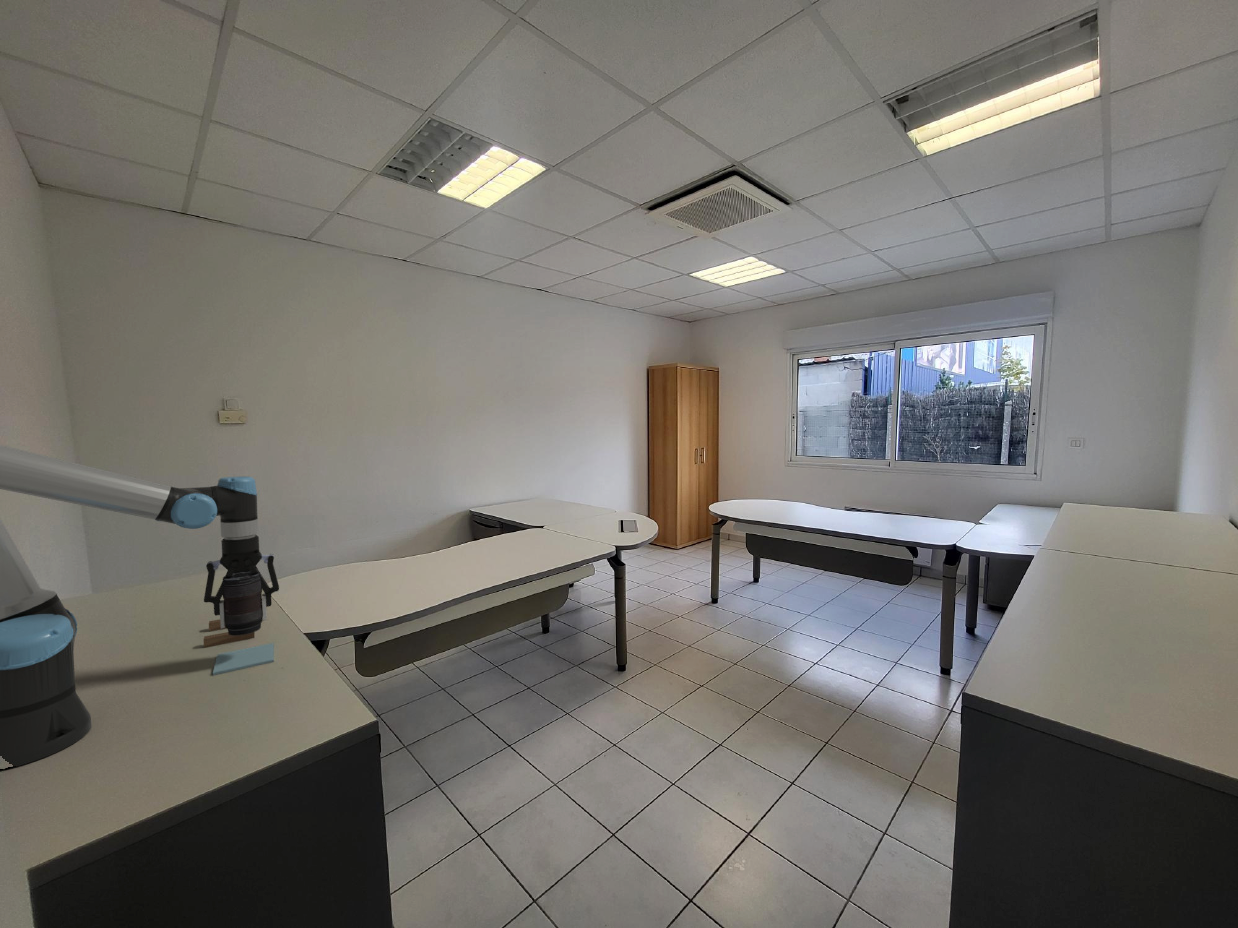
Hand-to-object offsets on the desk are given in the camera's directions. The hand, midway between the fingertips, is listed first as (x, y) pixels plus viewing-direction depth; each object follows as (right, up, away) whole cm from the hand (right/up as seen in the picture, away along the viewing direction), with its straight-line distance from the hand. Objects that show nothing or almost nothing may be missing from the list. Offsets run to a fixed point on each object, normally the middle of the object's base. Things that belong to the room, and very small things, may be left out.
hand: (244, 622), depth 123 cm
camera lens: (0, -2, 0) cm, 2 cm away
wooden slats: (-16, -9, +16) cm, 24 cm away
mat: (0, -10, +1) cm, 10 cm away
